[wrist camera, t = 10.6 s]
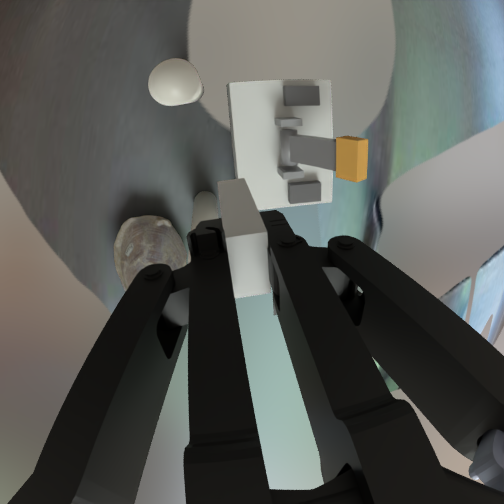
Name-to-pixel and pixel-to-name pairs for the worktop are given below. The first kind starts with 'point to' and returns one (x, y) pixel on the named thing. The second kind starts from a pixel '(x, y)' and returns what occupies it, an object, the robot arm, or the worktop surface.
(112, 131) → the worktop surface
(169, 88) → the post near
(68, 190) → the worktop surface
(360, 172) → the breaker lever
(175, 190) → the worktop surface
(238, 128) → the panel
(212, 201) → the post far
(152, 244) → the seashell
